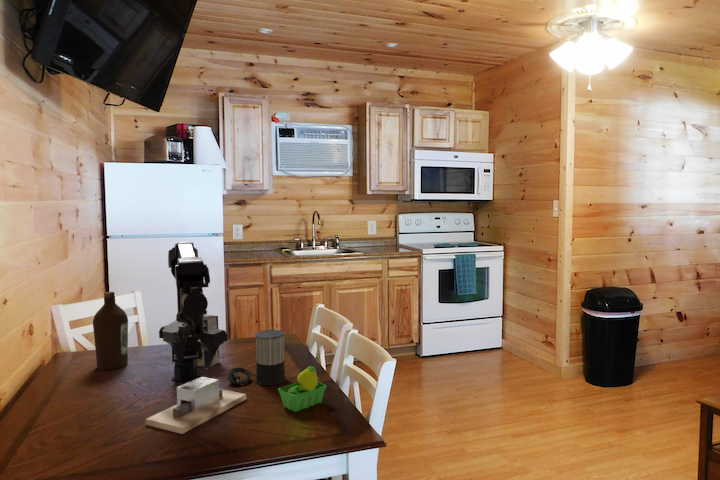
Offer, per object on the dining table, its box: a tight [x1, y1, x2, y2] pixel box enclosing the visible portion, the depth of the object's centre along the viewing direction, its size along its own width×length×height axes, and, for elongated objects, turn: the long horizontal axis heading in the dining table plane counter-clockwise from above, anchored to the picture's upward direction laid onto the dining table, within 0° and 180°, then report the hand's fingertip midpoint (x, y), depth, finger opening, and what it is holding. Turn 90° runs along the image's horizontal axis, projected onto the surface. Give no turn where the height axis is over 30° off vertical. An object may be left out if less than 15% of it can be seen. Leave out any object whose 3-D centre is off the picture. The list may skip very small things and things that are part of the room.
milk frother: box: [226, 329, 287, 386], centre depth 160 cm, size 14×16×15 cm
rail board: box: [145, 387, 247, 435], centre depth 137 cm, size 24×12×4 cm, turn 154°
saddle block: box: [176, 376, 220, 414], centre depth 137 cm, size 9×6×6 cm, turn 154°
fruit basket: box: [277, 365, 327, 413], centre depth 140 cm, size 11×9×11 cm
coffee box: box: [197, 314, 220, 367], centre depth 178 cm, size 9×6×16 cm
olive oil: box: [92, 291, 129, 371], centre depth 176 cm, size 11×11×25 cm
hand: (193, 366), depth 138 cm, fingers open, 9 cm apart
